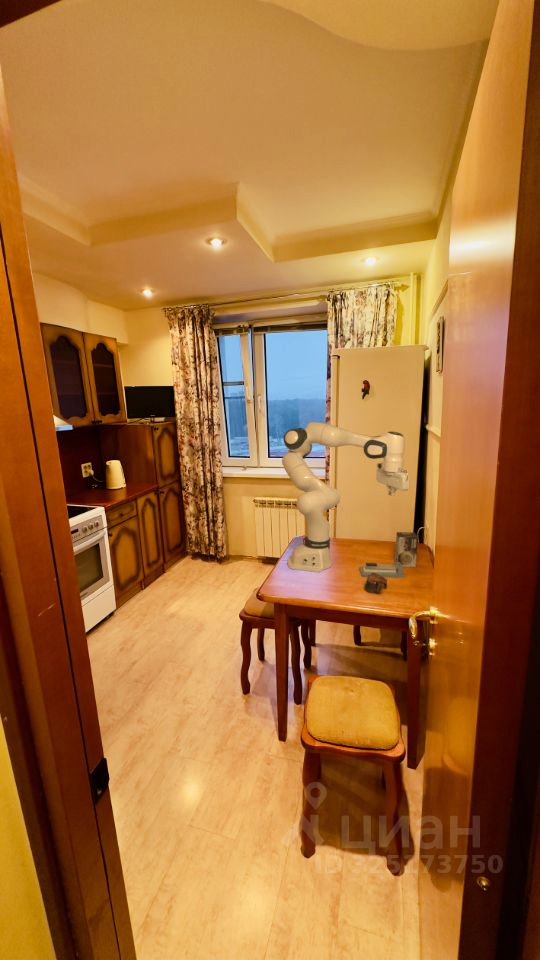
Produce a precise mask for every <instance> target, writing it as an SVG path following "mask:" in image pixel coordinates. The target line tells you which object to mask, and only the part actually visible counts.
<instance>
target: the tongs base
mask: <svg viewBox="0 0 540 960" xmlns="http://www.w3.org/2000/svg"><path fill="white" fill-rule="evenodd" d="M393 565H399V566H400V562H395V561H394V564H393ZM358 570H359V572H360V576H361V577H362V578H368V576H369V575H371V574H372V572H373V573H376V574H378V575H380V576H382V577H384V578H396V579H397V578H403V579H404V578H406V573H404V570H405V567H397V570H391V569H369V568H365V566H358Z"/></svg>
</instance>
